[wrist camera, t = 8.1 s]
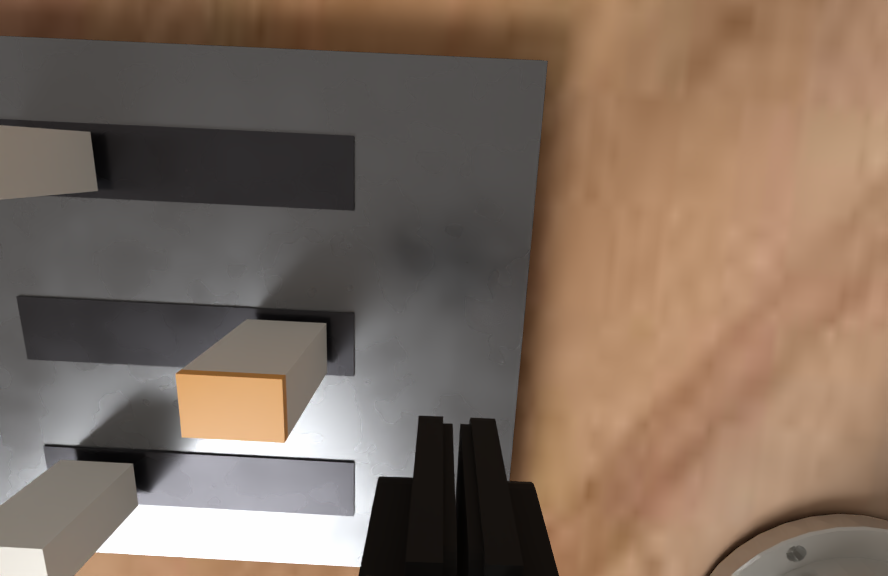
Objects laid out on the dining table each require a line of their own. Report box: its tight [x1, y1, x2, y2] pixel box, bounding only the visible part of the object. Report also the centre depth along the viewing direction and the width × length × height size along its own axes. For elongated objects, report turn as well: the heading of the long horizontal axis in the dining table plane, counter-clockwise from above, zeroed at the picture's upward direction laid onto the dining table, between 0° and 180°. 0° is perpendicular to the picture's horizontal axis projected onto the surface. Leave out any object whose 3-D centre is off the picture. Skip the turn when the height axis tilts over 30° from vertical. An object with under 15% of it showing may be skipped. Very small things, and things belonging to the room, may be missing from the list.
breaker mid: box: [176, 319, 327, 443], centre depth 16 cm, size 3×2×5 cm, turn 87°
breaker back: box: [0, 460, 138, 576], centre depth 18 cm, size 3×2×5 cm, turn 87°
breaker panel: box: [0, 36, 548, 567], centre depth 20 cm, size 28×21×2 cm
